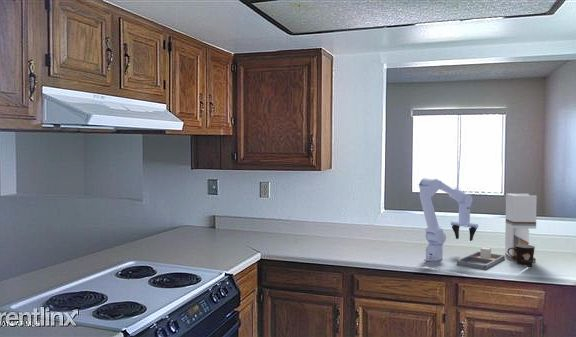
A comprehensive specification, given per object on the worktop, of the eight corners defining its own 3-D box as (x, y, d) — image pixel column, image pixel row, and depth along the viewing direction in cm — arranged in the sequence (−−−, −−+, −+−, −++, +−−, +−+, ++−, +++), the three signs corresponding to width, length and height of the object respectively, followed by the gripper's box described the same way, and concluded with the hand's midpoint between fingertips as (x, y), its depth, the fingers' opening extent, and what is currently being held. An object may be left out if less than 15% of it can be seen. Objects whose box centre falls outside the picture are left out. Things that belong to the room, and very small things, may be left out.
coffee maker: (512, 261, 228) (513, 195, 227) (505, 256, 239) (505, 193, 237) (535, 262, 226) (536, 195, 225) (527, 257, 237) (528, 193, 236)
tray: (485, 271, 209) (485, 265, 209) (456, 266, 219) (456, 260, 219) (504, 261, 229) (504, 255, 229) (477, 256, 239) (477, 251, 239)
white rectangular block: (488, 261, 226) (488, 249, 226) (480, 259, 229) (480, 248, 228) (490, 259, 229) (491, 248, 229) (483, 258, 232) (483, 247, 231)
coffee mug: (536, 265, 220) (536, 245, 220) (532, 268, 214) (532, 248, 214) (511, 261, 228) (511, 242, 228) (506, 264, 222) (506, 245, 221)
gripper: (480, 215, 237) (480, 240, 238) (454, 213, 247) (454, 236, 248) (475, 217, 232) (475, 242, 233) (449, 214, 242) (448, 238, 243)
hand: (464, 239), depth 240 cm, fingers open, 7 cm apart
